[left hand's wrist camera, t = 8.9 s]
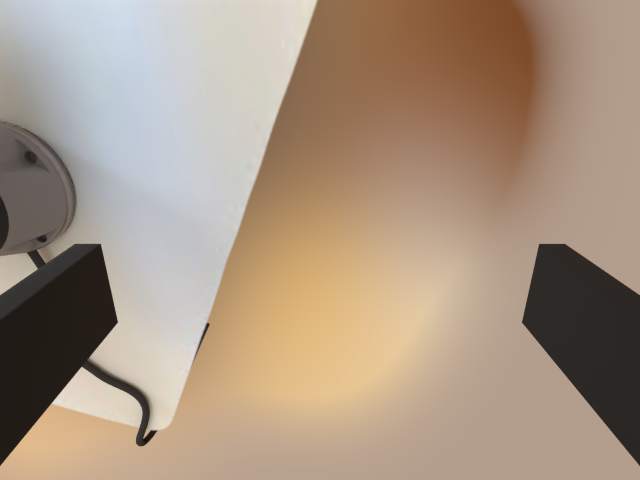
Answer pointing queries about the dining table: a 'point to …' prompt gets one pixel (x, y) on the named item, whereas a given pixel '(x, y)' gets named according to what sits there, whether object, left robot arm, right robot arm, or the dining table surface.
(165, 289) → the dining table surface
